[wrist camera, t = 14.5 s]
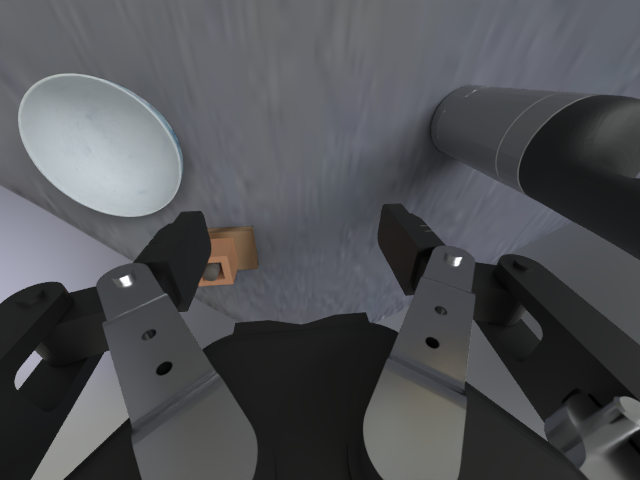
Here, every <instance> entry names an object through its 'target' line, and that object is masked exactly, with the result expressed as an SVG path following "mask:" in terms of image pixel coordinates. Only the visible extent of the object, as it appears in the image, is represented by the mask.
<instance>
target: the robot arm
mask: <svg viewBox="0 0 640 480" xmlns="http://www.w3.org/2000/svg"><path fill="white" fill-rule="evenodd" d="M431 137H432V141H433V143H434V145H435V146H436V148H438V149H439V150H440V151H442V152H443V153H445V154H447V155H449V156H451V157H453V158H455V159H456V160H458V161H460V162H462V163H464V164H466V165H468V166H470V167H472V168H474V169H476V170H478V171H480V172H482V173H483V174H485V175H487V176H489V177H491V178H493V179H495V180H497V181H499V182H501V183H503V184H505V185H507V186H509V187H511V188H513V189H515V190H517V191H519V192H521V193H523V194H524V195H526V196H528V197H530V198H532V199H534V200H536V201H538V202H540V203H542V204H544V205H545V206H547V207H549V208H551V209H552V210H554V211H556V212H557V213H559V214H561V215H562V216H564V217H566V218H568V219H569V220H571V221H573V222H575V223H577V224H578V225H581V226H583V227H584V228H586V229H588V230H590V231H592V232H593V233H595V234H597V235H598V236H600V237H602V238H604V239H606V240H607V241H609V242H611V243H612V244H614V245H616V246H617V247H619V248H621V249H622V250H624V251H626V252H627V253H629V254H631V255H632V256H634V257H635V258H637V259H639V260H640V179H636V178H635V177H636V176H637V175H638V173H639V172H640V99H637V98H632V97H625V96H614V95H599V94H585V93H572V92H555V91H542V90H529V89H515V88H502V87H491V86H477V85H469V86H464V87H461V88H459V89H457V90H455V91H453V92H452V93H451V94H449V95H448V96H447V97H446V98H445V99H444V100H443V101H442V103H441V104H440V105H439V107H438V108H437V110H436V112H435V114H434V117H433V120H432V124H431ZM378 244H379V247H380V249H381V250H382V252H383V254H384V256H385V258H386V260H387V262H388V264H389V265H390V267H391V269H392V271H393V273H394V275H395V277H396V279H397V280H398V282H399V284H400V286H401V288H402V290H403V292H404V294H405V295H406V296H407V295H414V296H413V299H412V301H411V304H410V306H409V309H408V311H407V314H406V316H405V319H404V321H403V324H402V326H401V329H400V331H399V333H398V332H397V331H395V330H392V329H390V328H388V327H385V326H382V325H379V324H375V323H370V322H369V321H368V318H367V315H366V312H365V313H352V314H340V315H333V316H330V317H327V318H323V319H320V320H317V321H314V322H310V323H307V324H302V325H301V324H292V323H285V322H278V321H270V320H266V321H254V322H241V323H235V327H234V332H233V334H231V335H228V336H226V337H223V338H221V339H219V340H217V341H215V342H213V343H212V344H210V345H208V346H207V347H206V348H204V349H203V350H202V349H201V347H200V346H199V344H198V342H197V341H196V339H195V338H194V336H193V334H192V333H191V331H190V330H189V328H188V326H187V325H186V323H185V321H184V320H183V318H182V317H181V315H180V313H179V312H185V311H188V309H189V307H190V304H191V302H192V300H193V297H194V295H195V292H196V290H197V287H198V285H199V282H200V280H201V278H202V275H203V273H204V270H205V268H206V265H207V263H208V261H209V258H210V256H211V249H212V248H211V240H210V237H209V233H208V229H207V226H206V222H205V218H204V215H203V213H202V212H201V211H189V212H181V213H180V214H179V216H178V217H177V218H176V220H175V221H174V222H173V223H171V224H168V225H166V226H165V227H163V228H162V229H160V230H159V231H158V232H157V234H156V235H155V236H154V237H153V239H152V240H151V241H150V242H149V245H147V246H146V247H145V249H144V250H143V251H142V252H141V254H140V255H139V256H138V257H137V259H136V260H135V261H134V262H133V263H131V264H126V265H123V266H119V267H117V268H114V269H112V270H110V271H109V272H107V273H106V274H104V275H103V276H102V277H101V278H100V279H99V280H98V282H97V284H96V287H91V288H87V289H83V290H79V291H75V292H71V293H69V292H68V291H67V290H66V288H65V287H64V286H63V285H62V284H61V283H59V282H45V283H40V284H36V285H33V286H30V287H27V288H25V289H23V290H21V291H19V292H17V293H15V294H13V295H11V296H10V297H8V298H7V299H6V300H4V301H3V302H2V303H1V304H0V480H31V478H32V477H33V475H34V473H35V471H36V469H37V468H38V466H39V464H40V463H41V460H42V459H43V457H44V456H45V454H46V452H47V451H48V449H49V447H50V445H51V444H52V442H53V440H54V438H55V437H56V435H57V433H58V432H59V429H60V428H61V426H62V425H63V423H64V421H65V419H66V418H67V415H68V414H69V412H70V411H71V409H72V407H73V405H74V404H75V402H76V400H77V399H78V397H79V395H80V393H81V392H82V390H83V388H84V387H85V385H86V383H87V381H88V379H89V378H90V376H91V374H92V373H93V371H94V369H95V368H96V366H97V364H98V362H99V361H100V359H101V357H102V355H103V354H104V352H106V351H109V350H110V353H111V356H112V360H113V363H114V367H115V370H116V374H117V377H118V380H119V384H120V387H121V391H122V394H123V397H124V401H125V404H126V408H127V411H128V414H129V418H128V419H127V420H126V421H125V422H124V423H123V424H122V425H121V426H120V427H119V428H118V429H117V430H116V431H115V432H113V433H112V434H111V435H110V436H109V437H108V438H107V439H106V440H105V441H104V442H103V443H102V444H101V445H100V446H99V447H98V448H96V450H94V451H93V452H92V453H91V454H90V455H89V456H88V457H87V458H86V459H85V460H84V461H83V462H82V463H81V464H79V465H78V466H77V467H76V468H75V469H74V470H73V471H72V472H71V473H70V474H69V475H68V476H67V477H66V478H65V479H64V480H640V345H639V344H638V343H637V342H635V341H634V340H633V339H632V338H631V337H629V336H628V335H627V334H625V333H624V332H623V331H622V330H621V329H619V328H618V327H617V326H616V325H615V324H613V323H612V322H611V321H610V320H608V319H607V318H606V317H605V316H604V315H602V314H601V313H600V312H599V311H597V310H596V309H595V308H594V307H592V306H591V305H590V304H589V303H588V302H586V301H585V300H584V299H583V298H582V297H580V296H579V295H578V294H576V293H575V292H574V291H573V290H572V289H570V288H569V287H568V286H567V285H566V284H564V283H563V282H562V281H561V280H559V279H558V278H557V277H556V276H555V275H553V274H552V273H551V272H550V271H548V270H547V269H546V268H545V267H544V266H542V265H541V264H539V263H538V262H536V261H534V260H532V259H529V258H527V257H524V256H520V255H514V254H507V255H503V256H501V257H500V259H499V261H498V263H497V265H491V264H484V263H477V262H475V259H474V258H473V256H472V255H471V254H469V253H468V252H466V251H465V250H463V249H460V248H457V247H453V246H446V245H445V244H444V243H443V242H442V241H441V240H440V239H439V238H438V236H437V235H436V234H435V233H434V232H433V231H432V230H431V229H430V228H429V227H428V226H427V224H426V223H425V222H424V221H423V220H422V219H421V218H419V217H417V216H415V215H414V214H410V213H409V212H408V211H407V210H406V209H405V208H404V207H403V205H402V204H384V205H383V207H382V211H381V217H380V223H379V230H378ZM526 310H527V311H528V312H529V313H530V314H531V315H532V316H533V317H534V318H535V319H536V320H537V322H538V323H539V324H540V326H541V328H542V332H543V337H542V340H541V341H540V340H539V339H538V338H537V337H536V335H535V334H534V333H533V332H532V331H531V330H530V329H529V327H528V326H527V325H526V324H525V323H524V322H523V321H522V319H521V317H522V316H523V314H524V313H525V311H526ZM473 320H475V322H476V323H477V325H478V326H479V327H480V329H481V331H482V332H483V334H484V335H485V337H486V338H487V340H488V341H489V342H490V344H491V345H492V347H493V348H494V350H495V351H496V353H497V354H498V356H499V357H500V358H501V360H502V361H503V363H504V364H505V366H506V367H507V369H508V370H509V372H510V373H511V375H512V376H513V378H514V379H515V381H516V382H517V384H518V385H519V386H520V388H521V389H522V391H523V392H524V394H525V395H526V397H527V398H528V400H529V401H530V403H531V404H532V406H533V407H534V408H535V410H536V411H537V413H538V414H539V416H540V417H541V419H542V420H543V422H544V423H545V424H544V431H545V435H546V438H547V440H548V441H546V440H545V439H544V438H542V437H541V436H539V435H538V434H537V433H535V432H534V431H533V430H531V429H530V428H528V427H527V426H526V425H525V424H523V423H522V422H520V421H519V420H518V419H516V418H515V417H514V416H512V415H511V414H510V413H508V412H507V411H505V410H504V409H503V408H501V407H500V406H499V405H497V404H496V403H495V402H493V401H492V400H490V399H489V398H488V397H486V396H485V395H484V394H482V393H481V392H480V391H478V390H477V389H476V388H474V387H473V386H471V385H470V384H468V383H467V382H466V381H465V379H466V371H467V363H468V354H469V346H470V338H471V329H472V322H473ZM34 350H35V351H36V352H37V353H38V354H39V355H40V356H41V357H42V358H43V359H42V360H41V361H40V363H39V364H38V365H37V367H36V368H35V369H34V370H33V372H32V373H31V374H30V376H29V377H28V378H27V379H26V381H25V382H24V383H23V385H22V386H21V387H20V388H19V390H17V389H16V387H15V384H14V380H15V376H16V373H17V371H18V370H19V368H20V367H21V366H22V364H23V363H24V362H25V361H26V360H27V358H28V357H29V356H30V355H31V354H32V352H33V351H34Z"/></svg>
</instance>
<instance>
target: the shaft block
mask: <svg viewBox="0 0 640 480" xmlns="http://www.w3.org/2000/svg"><path fill="white" fill-rule="evenodd" d="M207 229H208V233H209V237H210V239H221V238H233V241H234V246H235V251H236V255H237V260H238V268H237V270H246V269H258V264H259V263H258V257H257V250H256V244H255V237H254V231H253V226H250V227H228V228H207ZM220 268H221V262H218V263H207V267H206V269H205V272H204V274H203V277H204V278H205V279H206V280H208V281H215V280H216V279H217V277H218V274H219V271H220Z"/></svg>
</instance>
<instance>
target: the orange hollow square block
mask: <svg viewBox="0 0 640 480" xmlns="http://www.w3.org/2000/svg"><path fill="white" fill-rule="evenodd" d="M210 240H211V248H212V249H211V256H210V258H209V261H208V263H218V262H221V268H220V271H219V274H218V277H217V279H216V280H215V281H208V280H206V279H205V278H204V277H203V275H202V278H201V280H200V282H199V285H198V286H211V285H226V284H234V280H235V276H236V272H237V268H238V260H237V255H236V251H235V246H234V241H233V238H221V239H210ZM206 267H207V265H206ZM205 269H206V268H205ZM204 272H205V270H204ZM203 274H204V273H203Z"/></svg>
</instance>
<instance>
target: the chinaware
mask: <svg viewBox="0 0 640 480" xmlns="http://www.w3.org/2000/svg"><path fill="white" fill-rule="evenodd" d="M18 124H19V131H20V135H21V138H22V141H23V144H24V146H25V148H26V150H27V152H28V154H29V156H30V158H31V159H32V161H33V162H34V164H35V165H36V167H37V168H38V169H39V170H40V172H41V173H42V174H43V175H44V176H45V177H46V178H47V179H48V180H49V181H50V182H51V183H52V184H53V185H54V186H55V187H57V188H58V189H59V190H60V191H62V192H63V193H64V194H66V195H67V196H69V197H70V198H72V199H73V200H75V201H77V202H79V203H80V204H82V205H84V206H86V207H89V208H91V209H94V210H96V211H99V212H102V213H106V214H110V215H115V216H123V217H137V216H144V215H148V214H151V213H154V212H156V211H158V210H160V209H162V208H163V207H165V206H166V205H167V204H168V203H169V202H170V201H171V200H172V199H173V198H174V196H175V195H176V193H177V191H178V189H179V186H180V183H181V180H182V174H183V157H182V151H181V148H180V144H179V142H178V139H177V137H176V135H175V133H174V131H173V130H172V128H171V126H170V125H169V124H168V122H167V121H166V120H165V118H164V117H163V116H162V115H161V114H160V113H159V112H158V111H157V110H156V109H155V108H154V107H153V106H152V105H151V104H149V103H148V102H147V101H145V100H144V99H143V98H141V97H140V96H138V95H137V94H135V93H133V92H132V91H130V90H128V89H126V88H124V87H122V86H120V85H117V84H115V83H112V82H110V81H107V80H104V79H101V78H97V77H93V76H88V75H82V74H58V75H53V76H50V77H47V78H44V79H42V80H40V81H38V82H37V83H35V84H34V85H33V86H32V87H31V88H30V89H29V90H28V91H27V92H26V94H25V95H24V97H23V99H22V101H21V104H20V107H19V114H18Z"/></svg>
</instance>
